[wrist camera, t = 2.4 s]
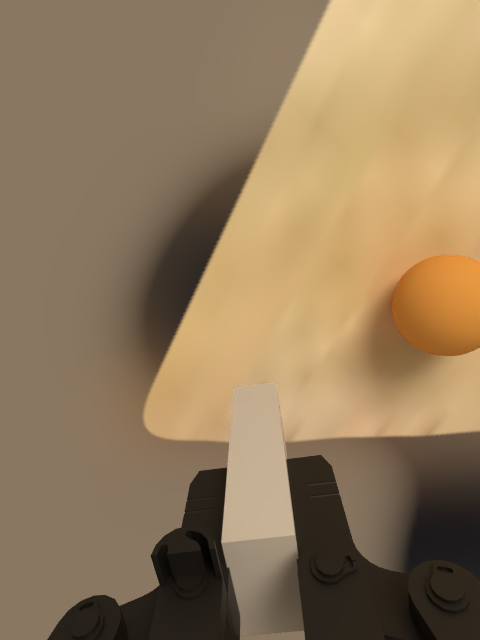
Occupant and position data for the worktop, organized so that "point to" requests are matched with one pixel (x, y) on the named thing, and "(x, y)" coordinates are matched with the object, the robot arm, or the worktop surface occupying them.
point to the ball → (440, 305)
